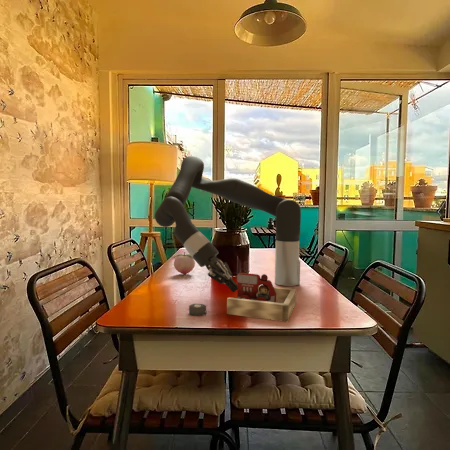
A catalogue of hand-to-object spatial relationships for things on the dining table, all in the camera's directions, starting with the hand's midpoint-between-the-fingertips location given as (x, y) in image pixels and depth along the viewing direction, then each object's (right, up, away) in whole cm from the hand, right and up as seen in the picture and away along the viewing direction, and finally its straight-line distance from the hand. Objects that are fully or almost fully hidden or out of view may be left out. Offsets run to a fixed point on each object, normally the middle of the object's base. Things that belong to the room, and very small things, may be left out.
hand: (236, 290), depth 105 cm
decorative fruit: (-21, -1, +42) cm, 47 cm away
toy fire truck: (+6, -5, -2) cm, 8 cm away
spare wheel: (-12, -5, -7) cm, 15 cm away
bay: (+8, -5, -2) cm, 9 cm away
